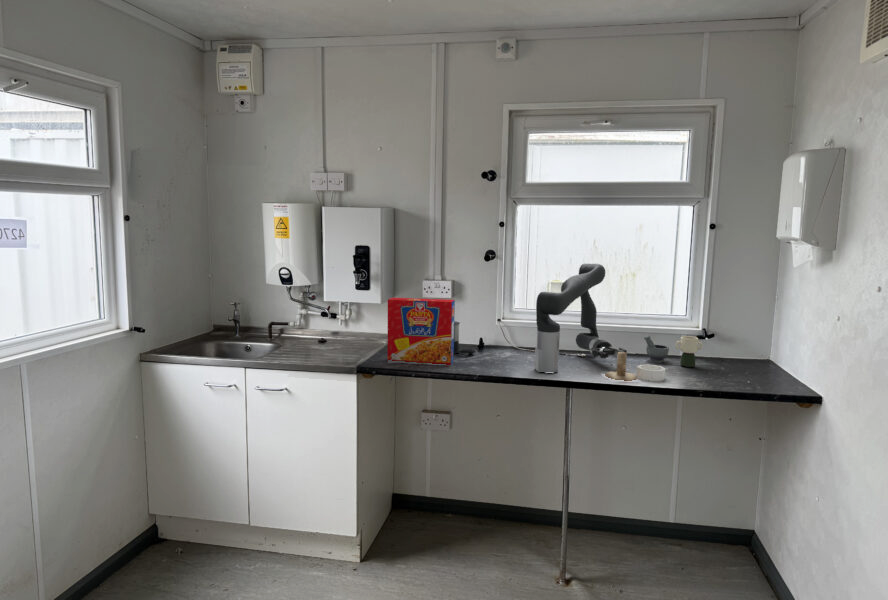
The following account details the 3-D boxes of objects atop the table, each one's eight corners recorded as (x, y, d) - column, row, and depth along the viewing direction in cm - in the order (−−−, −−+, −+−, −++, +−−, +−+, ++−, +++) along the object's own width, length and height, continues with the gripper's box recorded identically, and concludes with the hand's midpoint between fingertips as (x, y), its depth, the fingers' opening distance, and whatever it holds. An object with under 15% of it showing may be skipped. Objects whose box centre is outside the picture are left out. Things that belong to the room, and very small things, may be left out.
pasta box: (387, 363, 246) (387, 299, 242) (392, 359, 254) (392, 297, 250) (450, 366, 241) (451, 302, 238) (453, 362, 249) (454, 299, 245)
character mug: (698, 365, 250) (700, 336, 248) (703, 369, 243) (705, 339, 241) (672, 364, 252) (674, 335, 250) (676, 367, 245) (678, 338, 243)
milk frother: (438, 351, 271) (438, 320, 269) (470, 350, 274) (471, 320, 272) (443, 357, 257) (444, 325, 256) (477, 356, 260) (477, 325, 258)
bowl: (644, 381, 221) (644, 370, 220) (633, 375, 231) (633, 364, 230) (668, 381, 222) (669, 370, 221) (656, 375, 232) (657, 364, 231)
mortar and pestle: (664, 359, 260) (666, 334, 259) (671, 364, 251) (672, 337, 250) (640, 358, 262) (641, 333, 260) (645, 363, 252) (646, 337, 251)
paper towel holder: (612, 381, 220) (613, 356, 218) (600, 373, 231) (602, 349, 230) (641, 381, 221) (643, 356, 219) (629, 373, 232) (630, 349, 231)
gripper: (585, 339, 247) (598, 347, 231) (616, 339, 248) (632, 346, 232) (584, 356, 248) (597, 365, 232) (615, 355, 249) (631, 364, 233)
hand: (615, 355), depth 232 cm, fingers open, 8 cm apart
